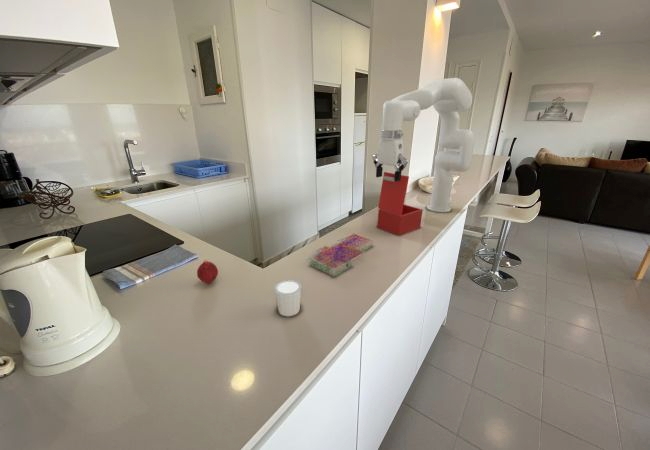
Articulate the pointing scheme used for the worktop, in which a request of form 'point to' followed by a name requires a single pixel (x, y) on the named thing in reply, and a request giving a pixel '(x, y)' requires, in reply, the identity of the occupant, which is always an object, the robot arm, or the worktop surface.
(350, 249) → the confetti patterned tile
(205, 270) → the onion
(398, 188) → the lid
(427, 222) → the worktop surface
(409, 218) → the red box
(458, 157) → the robot arm
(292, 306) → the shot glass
